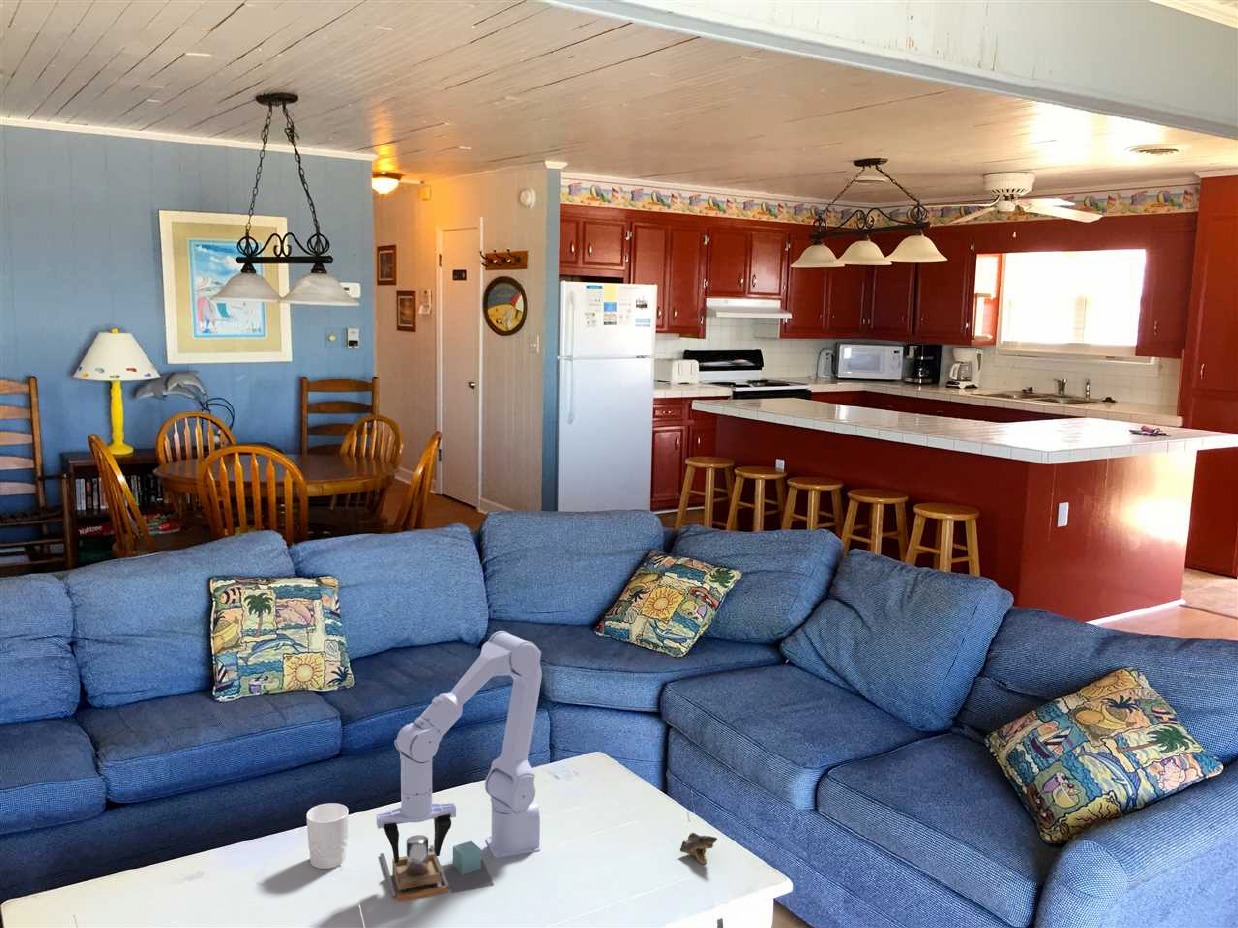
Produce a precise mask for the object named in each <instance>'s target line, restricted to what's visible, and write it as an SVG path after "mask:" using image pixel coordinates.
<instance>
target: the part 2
mask: <svg viewBox="0 0 1238 928" xmlns="http://www.w3.org/2000/svg"><path fill="white" fill-rule="evenodd" d="M481 859H482V849H481V847H479V846H478V845H477V844H476V843H474V841H472V840H469V841H465V842H462V843H458V844H455V845H453V846H452V864H453V866H454V867H455V868H456V869H457V870H458V871H459V872H460V873H461V874H462V875H463V874H466V873H469V872H472V871H475V870H478V869H481Z"/></svg>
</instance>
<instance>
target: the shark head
mask: <svg viewBox="0 0 1238 928" xmlns="http://www.w3.org/2000/svg"><path fill="white" fill-rule="evenodd" d="M717 840H718V839H717V838H716V837H712V836H709V835H701V836H700V835H698V834H697V833H696V832H691V833H690V834H689V835H688V837H687V839H686V840H684V839H683V840H682V841H681V844H680V847H679V851H680V852H681V853H684V854H687V855H691V856H693V857H694V858H695V859H696V860H697V861H698V862H699V863H700V864H701V865H707V863H708V859H707V857H706V855H705V852H706V851H707V850H708V849H712V848H713V847H714V844H715V842H716V841H717Z"/></svg>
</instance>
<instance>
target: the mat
mask: <svg viewBox="0 0 1238 928" xmlns="http://www.w3.org/2000/svg"><path fill="white" fill-rule="evenodd" d="M441 867H442V870H443V872H444V875H445V877H446V880H447V882H448V885H449V889H450V891H451V893H452V894H455V893H458V892H459V893H460V892H465V891H470V890H476V889H481V888H482V889H483V888H487V887H493V886H495V884H494V881H493V880H492V878H491V875H490V873H489V871H488V868H487V866H486V865H485V863H484V859H482V858H481V869H478V870H475V871H472V872H469V873H466V874H463V875H462V874H461V873H460V872H459V871H458V870H457V869H456V868H455V867H454V866H453V863H451V864H444V865H441Z"/></svg>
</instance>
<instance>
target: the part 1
mask: <svg viewBox="0 0 1238 928" xmlns="http://www.w3.org/2000/svg"><path fill="white" fill-rule="evenodd" d="M428 853H429V838H428V837H427V836H426V835H419V834H417V835H413V836H410V837H408V838H407V839H406V856H407V873H408V874H409V875H411V876H421V875H424V874H426V873H427V872H428Z"/></svg>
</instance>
